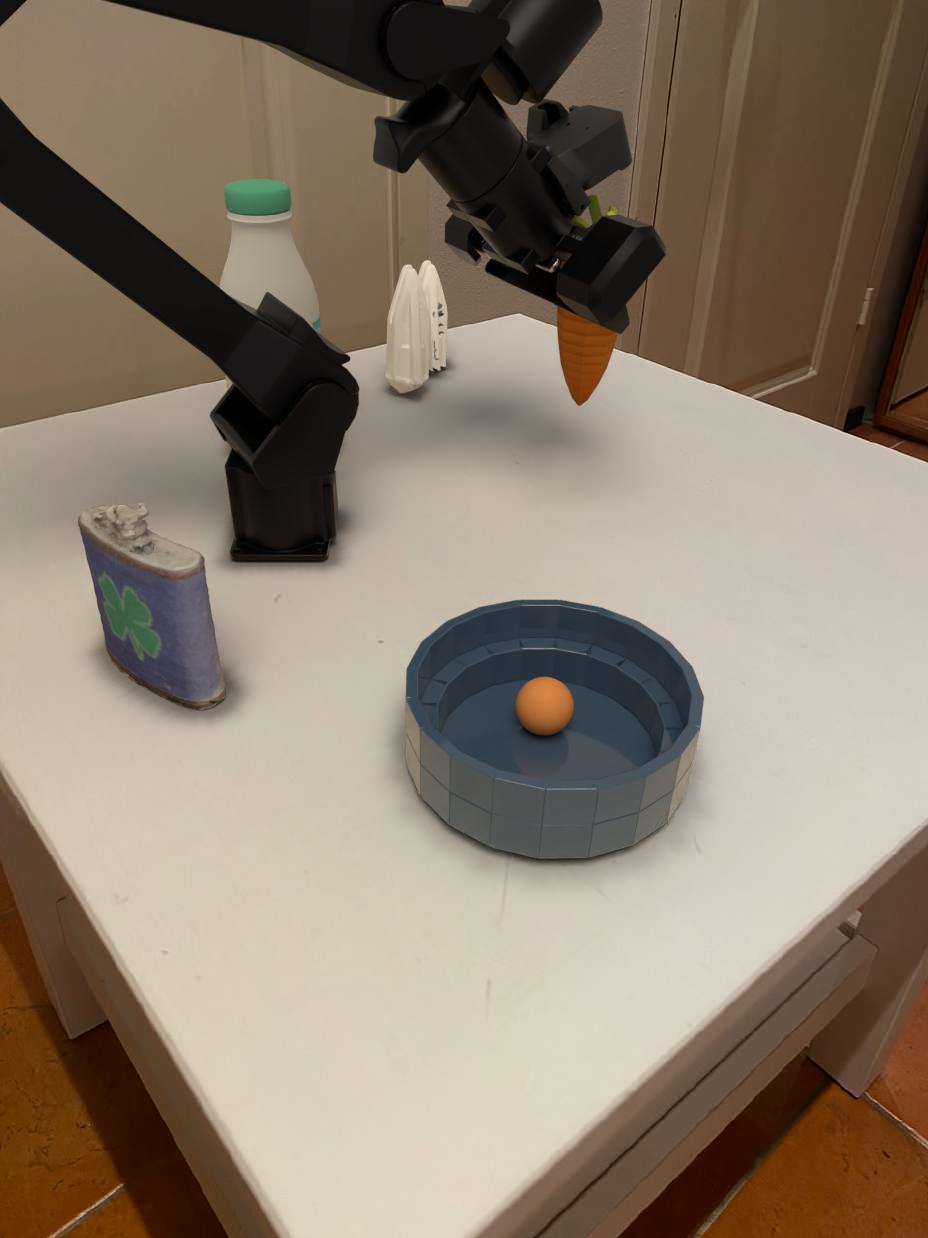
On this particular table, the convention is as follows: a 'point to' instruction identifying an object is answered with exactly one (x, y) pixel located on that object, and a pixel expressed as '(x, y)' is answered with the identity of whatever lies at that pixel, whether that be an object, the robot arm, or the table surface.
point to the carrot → (584, 337)
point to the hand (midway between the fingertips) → (602, 318)
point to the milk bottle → (265, 250)
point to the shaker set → (416, 328)
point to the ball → (544, 706)
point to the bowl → (562, 762)
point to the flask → (153, 606)
